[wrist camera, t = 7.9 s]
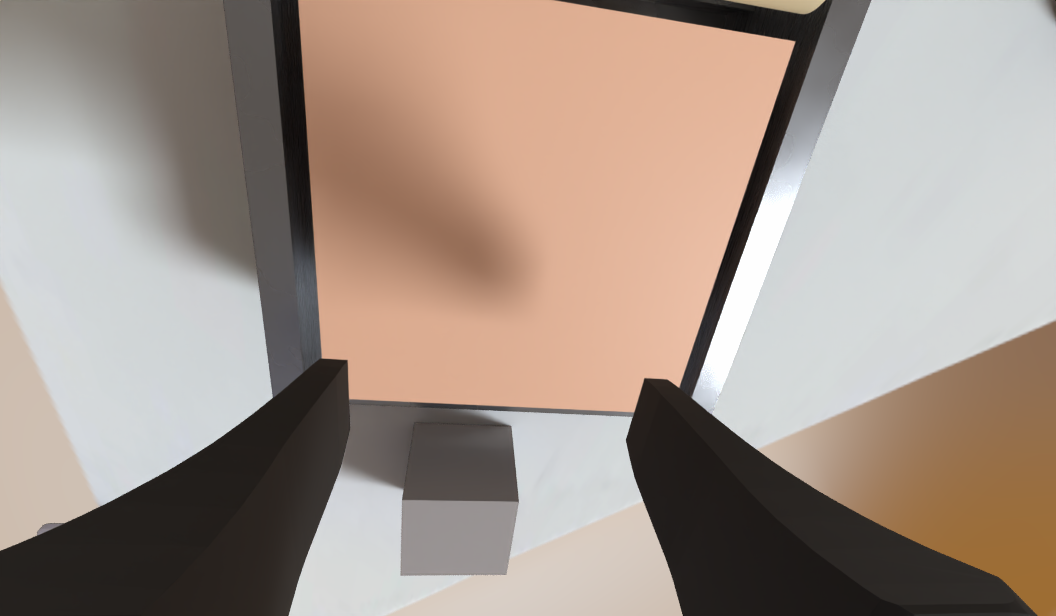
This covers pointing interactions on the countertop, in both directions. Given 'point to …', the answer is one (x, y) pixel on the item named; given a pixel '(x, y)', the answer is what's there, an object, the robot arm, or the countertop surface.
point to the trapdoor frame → (808, 84)
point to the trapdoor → (524, 192)
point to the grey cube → (459, 500)
